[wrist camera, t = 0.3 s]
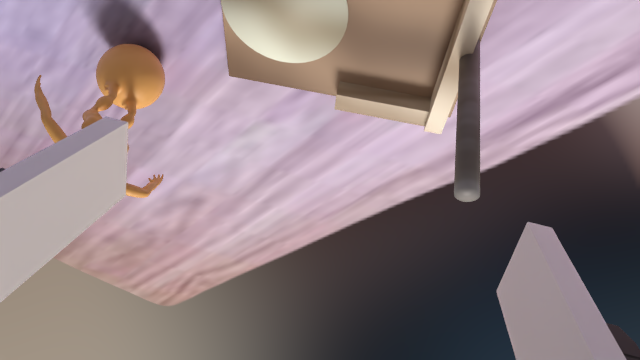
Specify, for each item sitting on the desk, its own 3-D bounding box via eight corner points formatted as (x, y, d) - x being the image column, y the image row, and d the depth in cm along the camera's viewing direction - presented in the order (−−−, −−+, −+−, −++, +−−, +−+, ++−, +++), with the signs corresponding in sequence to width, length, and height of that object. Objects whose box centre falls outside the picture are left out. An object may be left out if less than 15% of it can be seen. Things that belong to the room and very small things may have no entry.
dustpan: (212, -115, 22) (109, 18, 16) (520, -65, 21) (537, 96, 15) (231, 71, 31) (169, 203, 25) (450, 112, 30) (442, 260, 24)
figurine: (73, 18, 30) (-53, 166, 23) (132, -24, 27) (7, 133, 20) (170, 109, 35) (92, 254, 28) (231, 82, 32) (159, 239, 25)
